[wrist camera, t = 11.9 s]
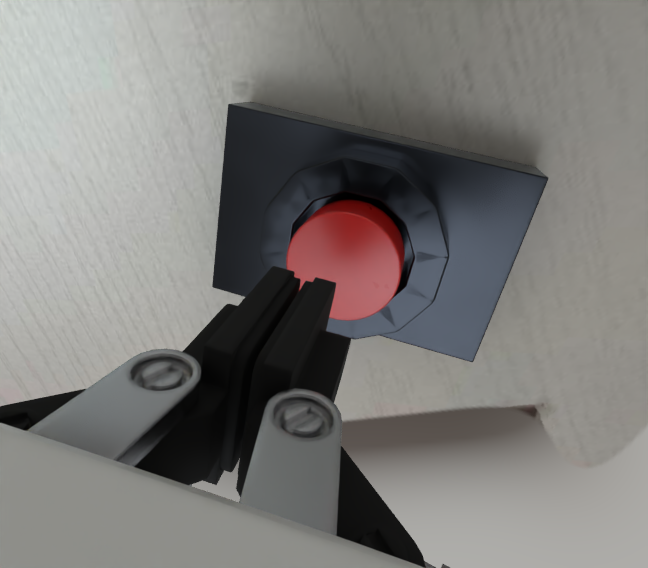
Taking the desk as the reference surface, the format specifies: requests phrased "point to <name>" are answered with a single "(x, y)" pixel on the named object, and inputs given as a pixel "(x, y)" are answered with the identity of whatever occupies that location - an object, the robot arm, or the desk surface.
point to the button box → (392, 198)
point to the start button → (350, 256)
